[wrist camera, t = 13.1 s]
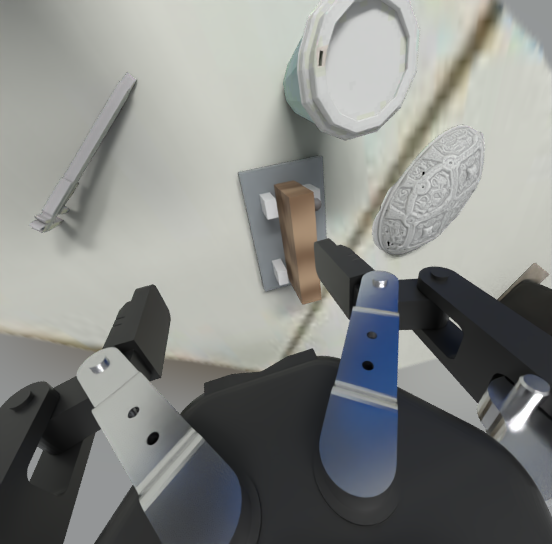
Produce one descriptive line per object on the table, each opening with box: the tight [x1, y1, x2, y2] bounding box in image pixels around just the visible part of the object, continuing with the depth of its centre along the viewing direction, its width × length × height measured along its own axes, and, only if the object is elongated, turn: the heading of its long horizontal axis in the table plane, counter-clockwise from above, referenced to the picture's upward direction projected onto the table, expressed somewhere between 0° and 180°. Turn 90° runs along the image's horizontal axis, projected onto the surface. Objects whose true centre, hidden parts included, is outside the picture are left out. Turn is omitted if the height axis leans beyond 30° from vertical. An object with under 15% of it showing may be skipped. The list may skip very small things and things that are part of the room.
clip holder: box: [238, 156, 327, 291], centre depth 38 cm, size 20×12×6 cm, turn 9°
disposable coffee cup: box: [283, 0, 420, 140], centre depth 25 cm, size 11×11×15 cm
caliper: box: [29, 72, 136, 233], centre depth 27 cm, size 20×1×6 cm, turn 140°
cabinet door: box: [274, 180, 322, 305], centre depth 36 cm, size 16×4×8 cm, turn 9°
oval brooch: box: [372, 125, 485, 254], centre depth 42 cm, size 16×25×7 cm, turn 151°
